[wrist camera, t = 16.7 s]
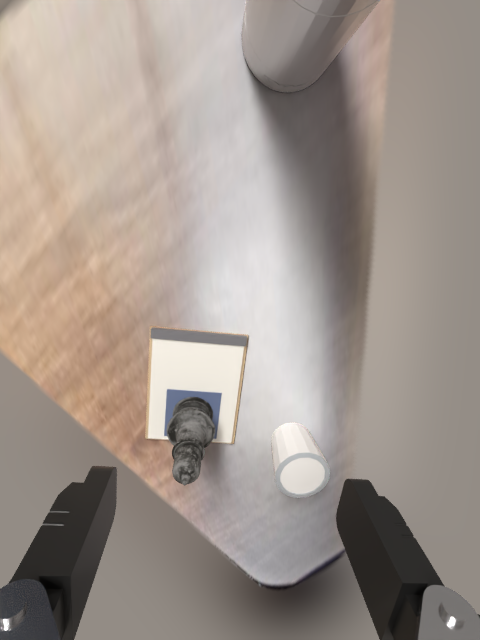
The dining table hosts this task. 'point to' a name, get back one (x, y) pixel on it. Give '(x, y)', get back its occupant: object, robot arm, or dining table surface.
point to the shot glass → (298, 461)
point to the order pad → (194, 377)
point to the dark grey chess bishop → (190, 437)
